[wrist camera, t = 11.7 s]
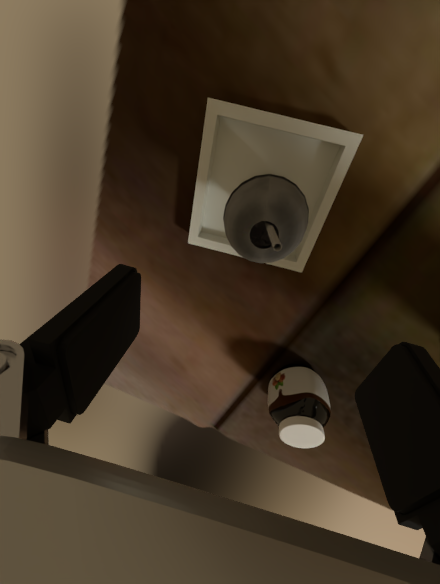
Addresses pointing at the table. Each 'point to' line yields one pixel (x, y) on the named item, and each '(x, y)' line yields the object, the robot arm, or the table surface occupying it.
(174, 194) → the table surface
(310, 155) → the walled tray
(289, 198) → the beverage cup
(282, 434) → the spread jar
